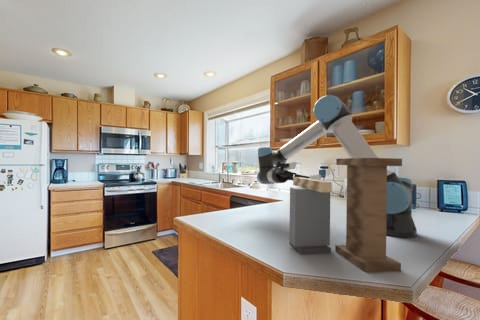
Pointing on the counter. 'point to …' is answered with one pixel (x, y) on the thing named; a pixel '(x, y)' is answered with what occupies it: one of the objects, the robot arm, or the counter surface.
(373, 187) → the stand
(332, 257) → the counter surface
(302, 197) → the grey rectangular block
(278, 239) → the counter surface
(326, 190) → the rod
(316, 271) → the counter surface
